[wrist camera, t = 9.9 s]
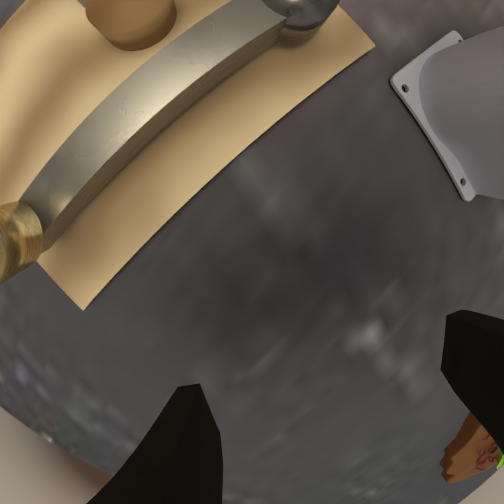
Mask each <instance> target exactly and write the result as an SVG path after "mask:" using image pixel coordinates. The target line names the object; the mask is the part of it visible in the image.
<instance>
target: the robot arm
mask: <svg viewBox="0 0 504 504" xmlns="http://www.w3.org/2000/svg"><path fill="white" fill-rule="evenodd" d="M390 83H391V85H392V87H393V88H394V90H395V91H396V92H397V94H398V95H399V96H400V98H401V99H402V101H403V102H404V103H405V105H406V106H407V108H408V109H409V110H410V112H411V113H412V115H413V116H414V118H415V119H416V121H417V122H418V124H419V125H420V127H421V128H422V130H423V131H424V133H425V134H426V136H427V137H428V139H429V141H430V142H431V144H432V145H433V147H434V149H435V150H436V152H437V154H438V155H439V157H440V159H441V160H442V162H443V164H444V166H445V167H446V169H447V171H448V173H449V174H450V176H451V178H452V180H453V182H454V184H455V186H456V187H457V189H458V191H459V193H460V195H461V197H462V199H463V200H465V201H471V200H472V199H473V198H474V197H475V196H476V194H478V195H483V196H488V197H492V198H497V199H502V200H504V26H501V27H498V28H495V29H492V30H490V31H487V32H484V33H482V34H479V35H476V36H474V37H471V38H469V39H466V40H463V39H462V37H461V36H460V34H459V33H458V32H456V31H451V32H449V33H448V34H446V35H445V36H444V37H442V38H441V39H440V40H438V41H437V42H436V43H434V44H433V45H432V46H430V47H429V48H428V49H426V50H425V51H424V52H422V53H421V54H420V55H418V56H417V57H416V58H414V59H413V60H412V61H411V62H409V63H408V64H407V65H405V66H404V67H403V68H402V69H400V70H399V71H398V72H396V73H395V74H394V75H393V76H392V77H391V78H390ZM402 86H404V87H405V89H406V92H404V91H402ZM461 179H462V184H461V183H460V181H461ZM441 371H442V373H443V374H444V376H445V378H446V379H447V381H448V383H449V384H450V386H451V387H452V389H453V390H454V392H455V393H456V395H457V396H458V397H459V398H460V400H461V401H462V402H463V403H464V404H465V406H466V407H467V408H468V409H469V410H470V411H471V413H472V414H473V415H474V416H475V417H476V419H477V420H478V421H479V422H480V423H481V425H482V426H483V427H484V428H485V429H486V431H487V432H488V433H489V434H490V436H491V437H492V438H493V439H494V441H495V442H496V444H497V445H498V446H499V448H500V449H501V451H502V453H503V455H504V320H502V319H499V318H495V317H492V316H488V315H484V314H480V313H476V312H472V311H467V310H459V311H457V312H454V313H452V314H449V315H447V316H446V328H445V338H444V347H443V355H442V363H441ZM222 485H223V458H222V447H221V437H220V432H219V430H218V427H217V425H216V423H215V420H214V418H213V415H212V413H211V411H210V408H209V406H208V403H207V401H206V398H205V396H204V393H203V391H202V388H201V386H200V383H199V384H193V385H187V386H180V387H177V389H176V390H175V392H174V393H173V395H172V396H171V398H170V399H169V401H168V402H167V404H166V406H165V407H164V409H163V410H162V412H161V413H160V415H159V416H158V418H157V419H156V421H155V422H154V424H153V425H152V427H151V428H150V430H149V431H148V433H147V434H146V436H145V437H144V438H143V440H142V441H141V443H140V444H139V445H138V447H137V448H136V449H135V451H134V452H133V453H132V455H131V456H130V457H129V458H128V460H127V461H126V462H125V463H124V465H123V466H122V467H121V469H120V470H119V471H118V472H117V473H116V474H115V476H114V477H113V478H112V479H111V480H110V481H109V482H108V483H107V484H106V485H105V486H104V487H103V488H102V489H101V490H100V491H99V492H98V493H97V495H95V496H94V497H93V498H92V499H91V500H90V501H89V502H88V503H86V504H222Z"/></svg>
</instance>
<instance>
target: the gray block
mask: <svg viewBox="0 0 504 504" xmlns="http://www.w3.org/2000/svg"><path fill="white" fill-rule="evenodd" d="M77 1H78V2H79V3H80V4H81V5H82V6H83V7H84V8H85V6H86V1H87V0H77Z"/></svg>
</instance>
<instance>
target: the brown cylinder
mask: <svg viewBox="0 0 504 504" xmlns="http://www.w3.org/2000/svg"><path fill="white" fill-rule="evenodd" d="M85 12H86V16H87V19H88V21H89V22H90V23H91V24H92V25H93V26H94V27H95V28H96V29H97V30H98V31H99V32H100V33H101V34H102V35H103V36H104V37H105V38H106V39H107V40H108V41H109V42H110V43H111V44H112V45H113V46H114V47H116V48H118V49H121V50H124V51H139V50H143V49H146V48H149V47H151V46H153V45H155V44H157V43H158V42H160V41H161V40H162V39H164V38H165V37H166V36H167V35H168V33H169V32H170V31H171V29H172V28H173V26H174V24H175V21H176V17H177V11H176V6H175V3H174V0H87V1H86V6H85Z"/></svg>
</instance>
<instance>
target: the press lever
mask: <svg viewBox="0 0 504 504" xmlns="http://www.w3.org/2000/svg"><path fill="white" fill-rule="evenodd" d="M338 3H339V0H231V1H230V2H228V3H227V4H225V5H223V6H222V7H220V8H219V9H217V10H215V11H214V12H212V13H211V14H209V15H208V16H206V17H205V18H203V19H202V20H200V21H199V22H197V23H196V24H194V25H193V26H192V27H190V28H189V29H187V30H186V31H185V32H183V33H182V34H181V35H179V36H178V37H176V38H175V39H174V40H172V41H171V42H170V43H169V44H167V45H166V46H165V47H163V48H162V49H161V50H160V51H158V52H157V53H156V54H155V55H153V56H152V57H151V58H150V59H148V60H147V61H146V62H145V63H144V64H142V65H141V66H140V67H139V68H138V69H137V70H135V71H134V72H133V73H132V74H131V75H130V76H129V77H128V78H126V79H125V80H124V81H123V82H122V83H121V84H120V85H119V86H118V87H117V88H116V89H114V90H113V91H112V92H111V93H110V94H109V95H108V96H107V97H106V98H105V99H104V100H103V101H102V102H101V103H100V104H99V105H98V106H97V107H96V108H95V109H94V110H93V111H92V112H91V113H90V114H89V115H88V116H87V117H86V118H85V119H84V120H83V122H82V123H81V124H80V125H79V126H78V127H77V128H76V129H75V130H74V131H73V132H72V134H71V135H70V136H69V137H68V138H67V139H66V140H65V141H64V143H63V144H62V145H61V146H60V147H59V148H58V150H57V151H56V152H55V153H54V154H53V156H52V157H51V158H50V159H49V161H48V162H47V163H46V164H45V166H44V167H43V168H42V169H41V171H40V172H39V173H38V175H37V176H36V177H35V178H34V180H33V181H32V182H31V184H30V185H29V187H28V188H27V189H26V191H25V192H24V193H23V195H22V196H21V198H20V199H19V201H15V202H10V203H6V204H2V205H0V284H2V283H3V282H5V281H7V280H8V279H10V278H11V277H13V276H14V275H16V274H18V273H19V272H21V271H22V270H24V269H26V268H27V267H29V266H31V265H32V264H34V263H35V262H36V261H37V259H38V258H39V256H40V254H41V253H43V252H45V251H47V250H49V249H50V248H51V247H52V246H53V244H54V243H55V242H56V241H57V239H58V238H59V237H60V236H61V234H62V233H63V232H64V231H65V230H66V228H67V227H68V226H69V225H70V224H71V223H72V221H73V220H74V219H75V218H76V217H77V216H78V214H79V213H80V212H81V211H82V210H83V209H84V208H85V207H86V205H87V204H88V203H89V202H90V201H91V200H92V199H93V198H94V197H95V195H96V194H97V193H98V192H99V191H100V190H101V189H102V188H103V187H104V186H105V185H106V184H107V183H108V182H109V181H110V180H111V179H112V178H113V177H114V175H115V174H116V173H117V172H118V171H119V170H120V169H121V168H122V167H123V166H124V165H125V164H126V163H127V162H128V161H129V160H130V159H132V158H133V157H134V156H135V155H136V154H137V153H138V152H139V151H140V150H141V149H142V148H143V147H144V146H145V145H146V144H147V143H148V142H149V141H151V140H152V139H153V138H154V137H155V136H156V135H157V134H158V133H159V132H160V131H162V130H163V129H164V128H165V127H166V126H167V125H168V124H169V123H171V122H172V121H173V120H174V119H175V118H176V117H178V116H179V115H180V114H181V113H182V112H183V111H185V110H186V109H187V108H188V107H189V106H191V105H192V104H193V103H194V102H195V101H197V100H198V99H199V98H200V97H202V96H203V95H204V94H205V93H207V92H208V91H209V90H211V89H212V88H213V87H214V86H216V85H217V84H218V83H220V82H221V81H222V80H224V79H225V78H226V77H228V76H229V75H230V74H232V73H233V72H234V71H236V70H237V69H238V68H240V67H241V66H243V65H244V64H245V63H247V62H248V61H250V60H251V59H253V58H254V57H255V56H257V55H258V54H260V53H261V52H263V51H264V50H266V49H267V48H269V47H270V46H272V45H273V44H275V43H280V44H287V45H294V44H300V43H303V42H306V41H308V40H310V39H311V38H313V37H314V36H315V35H316V33H317V32H318V31H319V29H320V28H321V27H322V26H323V24H324V23H325V22H326V20H327V19H328V18H329V16H330V15H331V14H332V12H333V11H334V10H335V9H336V7H337V5H338Z"/></svg>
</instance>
